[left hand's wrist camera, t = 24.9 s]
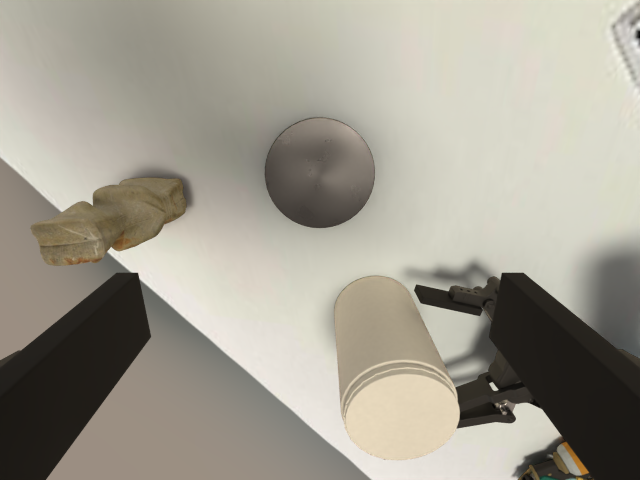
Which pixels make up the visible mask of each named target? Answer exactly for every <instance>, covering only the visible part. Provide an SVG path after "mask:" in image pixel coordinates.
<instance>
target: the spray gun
mask: <svg viewBox="0 0 640 480" xmlns="http://www.w3.org/2000/svg"><path fill="white" fill-rule="evenodd" d="M530 471H531V472H530ZM589 477H592V476H591V475H590V473H589V472H588V471H587V469H586V468H585V467H584V465H583V464H582V463H581V461H580V460H579V458H578V457H577V456H576V454H575V453H574V452H573V450H572V449H571V448H570V446H569V445H568V444H567V442H564V443H561V444H560V445H559V446H558V447H557V452H553V460H550V461H546V462H543V463H539V464H536V465H533V466H532V465H529V469H528V470H527V471H526V472H525V473H524V474H523V475H522V476H521V477H520V478H519V479H518V480H594V479H593V478H592V479H587V478H589Z"/></svg>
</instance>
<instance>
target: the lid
mask: <svg viewBox="0 0 640 480" xmlns="http://www.w3.org/2000/svg"><path fill="white" fill-rule="evenodd" d="M374 179H375V168H374V161H373V157H372V154H371V152H370V149H369V147H368V146H367V144H366V142H365V141H364V140H363V138H362V137H361V136H360V135H359V134H358V133H357V132H356V131H355V130H353V129H352V128H351V127H349V126H348V125H346V124H344V123H342V122H340V121H337V120H334V119H330V118H310V119H306V120H303V121H300V122H298V123H296V124H294V125H292V126H291V127H289V128H288V129H286V130H285V131H284V132H283V133H282V134H281V135H280V136H279V137H278V138H277V139H276V140H275V142H274V144H273V145H272V147H271V149H270V151H269V153H268V157H267V160H266V165H265V181H266V186H267V190H268V192H269V195H270V197H271V199H272V201H273V202H274V204H275V205H276V207H277V208H278V209H279V210H280V211H281V212H282V213H283V214H284V215H285V216H286V217H288V218H289V219H291V220H292V221H294V222H296V223H298V224H301V225H304V226H308V227H313V228H327V227H333V226H336V225H339V224H341V223H344V222H346V221H347V220H349V219H351V218H352V217H353V216H355V215H356V214H357V213H358V212H359V211H360V210H361V209H362V208H363V206H364V205H365V204H366V202H367V200H368V199H369V196H370V194H371V192H372V189H373V185H374Z"/></svg>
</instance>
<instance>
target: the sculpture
mask: <svg viewBox="0 0 640 480" xmlns="http://www.w3.org/2000/svg"><path fill="white" fill-rule="evenodd" d="M182 191H183V185H182V182H181V180H180V179H175V178H174V179H163V178H133V179H125V180H123V181H121V182H120V184H119V185H109V186H105V187H102V188H99V189H97V190H96V191H95V192H94V193H93V206H92V205H91V204H89V203H88V202H85V201H81V202H78V203H76V204H74V205H72V206H71V207H69V208H68V209H67V210H65V211H63V212H62V213H60V214H59V215H57V216H55V217H54V218H52V219H50V220H45V221H40V222H37V223H35V224H33V225H31V232H32V234H33V235H34V236H35V238H36V239H37V241H38V243H39V246H40V252H41V256H42V258H43V260H44V262H45V263H46V264H49V265H54V266H62V265H73V264H81V263H86V262H92V263H97V262H99V261H100V260H101V259H102V258H103V257H104V255H105V254H106V252H107V251H108V250H109V249H110V247H112V248H113V249H114V250H116V251H122V250H126V249H129V248H131V247H135V246H137V245H139V244H141V243H143V242H145V241H147V240H149V239H152V238H153V237H155V236H157V235H158V234H159V232H160V231H161V229H162V228H163V225H164V224H166V223H169V222H171V221H173V220H175V219H177V218H179V217H180V216H182V215H183V214H184V213H185V210H186V199H185V198H184V196H183V192H182Z"/></svg>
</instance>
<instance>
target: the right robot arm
mask: <svg viewBox="0 0 640 480" xmlns="http://www.w3.org/2000/svg"><path fill="white" fill-rule="evenodd" d="M499 285H500V280H499V279H498V278H497V277H490V278H489V279H488V281H487V285H486V287H485V288H482V287H480V286H477V287H475V288H474V289H469V288H464V287H460V286H451V287H450V290H449V292H448V291H444V290H439V289H435V288H430V287H426V286H421V285H417V284H416V287H415V289H414V291H415V293H416V295H417V297H418V299H419V301H420V303H422V304H426V305H431V306H436V307H440V308H445V309H450V310H454V311H459V312H464V313H468V314H473V315H477V316H480V315H481V313H482V311H483V309H484V311H485V312H486V314H487V315H488V317H489V319H490V320H491V322H492V319H493V314H494V310H495V305H496V300H497V295H498V290H499ZM481 307H482V308H483V309H482V308H481ZM488 371H489V372H486V373H484V374H481V375H479V376H478V379H477V380H475V381H472V382H469V383H466V384H464V385H461V386H458V387H456V392H457V397H458V404H459V409H460V417H459V422H458V426H457V428H462V427H468V426H474V425H480V424H486V423H492V422H501V423H513V422H514V421H515V420H516V418H515V416H514V414H513V413H512V412H513V409H514V407H515V404H519V403H530V404H532V405H534V406H536V407H538V408H541V407H540V405H539V404H538V403H537V401H536V400H535V399H534V397H533V396H532V395H531V393H530V392H529V391H528V389H527V388H526V386H525V385H524V384H523V382H522V381H521V380H520V378H519V377H518V376H517V374H516V373H515V372H514V370H513V369H512V367H511V366H510V365H509V363H508V362H507V361H506V359H505V358H504V357H503V355H502V354H501V353H500V351H499V350H498V351H497V353H496V357H495V360H494V362H493V363H492V364H491V365H490V367H489V369H488ZM491 382H493V383H494V384H495V386H496V387H497V388H498V389H499V390H498V391H493V390H492V388H491V386H490V385H489V383H491ZM541 409H542V408H541Z"/></svg>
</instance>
